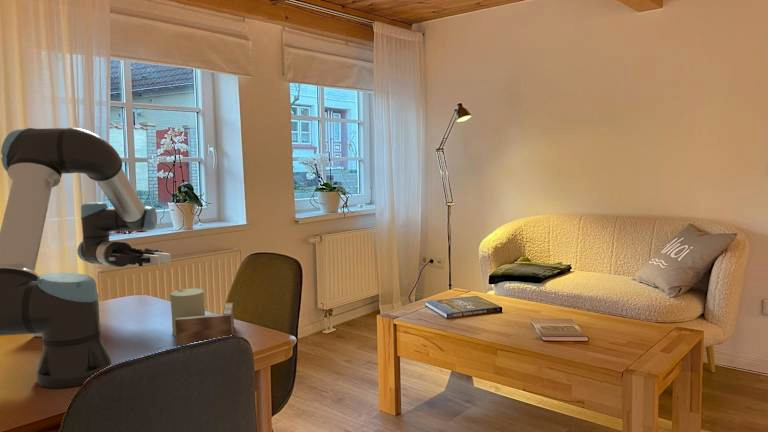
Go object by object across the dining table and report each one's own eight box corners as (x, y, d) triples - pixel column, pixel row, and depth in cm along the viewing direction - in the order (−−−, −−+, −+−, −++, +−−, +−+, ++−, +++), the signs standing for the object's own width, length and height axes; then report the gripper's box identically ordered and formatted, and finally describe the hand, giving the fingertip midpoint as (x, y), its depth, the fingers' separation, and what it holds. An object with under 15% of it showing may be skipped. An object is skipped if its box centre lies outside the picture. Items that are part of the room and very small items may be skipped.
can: (192, 325, 174) (190, 285, 172) (213, 330, 168) (211, 288, 167) (165, 333, 166) (162, 291, 165) (185, 339, 161) (183, 295, 160)
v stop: (173, 345, 156) (171, 319, 155) (230, 325, 172) (229, 302, 172) (202, 351, 150) (200, 324, 149) (258, 331, 166) (257, 306, 165)
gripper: (139, 261, 190) (187, 267, 177) (91, 270, 176) (140, 277, 164) (137, 238, 189) (186, 242, 176) (89, 245, 175) (138, 250, 163)
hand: (164, 259), depth 170 cm, fingers open, 3 cm apart
